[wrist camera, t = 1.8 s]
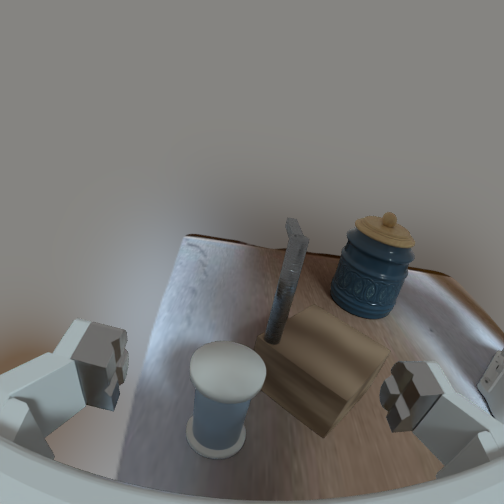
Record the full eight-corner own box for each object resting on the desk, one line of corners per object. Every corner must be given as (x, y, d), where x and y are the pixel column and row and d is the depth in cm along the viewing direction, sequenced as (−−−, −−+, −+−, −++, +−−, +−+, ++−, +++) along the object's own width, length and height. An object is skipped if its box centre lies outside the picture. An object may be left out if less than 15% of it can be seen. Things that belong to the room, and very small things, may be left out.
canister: (383, 330, 50) (423, 236, 42) (317, 299, 56) (346, 205, 48) (396, 299, 60) (428, 219, 53) (341, 274, 66) (366, 195, 58)
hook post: (276, 312, 38) (300, 219, 33) (281, 345, 33) (310, 243, 28) (262, 310, 38) (283, 216, 33) (264, 343, 33) (291, 240, 28)
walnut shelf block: (300, 342, 45) (314, 303, 42) (368, 388, 38) (390, 350, 35) (246, 377, 37) (257, 336, 34) (323, 438, 30) (347, 401, 27)
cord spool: (218, 404, 33) (230, 332, 28) (256, 439, 29) (281, 372, 24) (174, 428, 28) (174, 358, 24) (212, 469, 25) (225, 409, 20)
